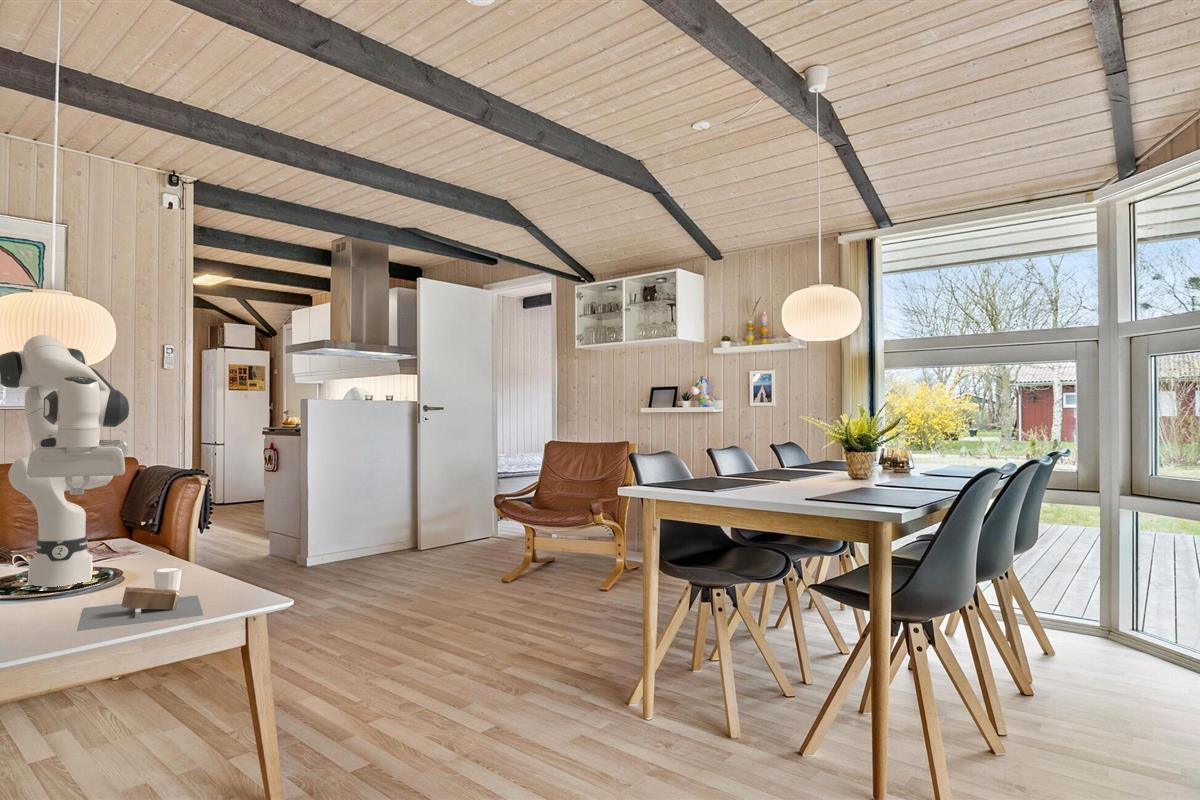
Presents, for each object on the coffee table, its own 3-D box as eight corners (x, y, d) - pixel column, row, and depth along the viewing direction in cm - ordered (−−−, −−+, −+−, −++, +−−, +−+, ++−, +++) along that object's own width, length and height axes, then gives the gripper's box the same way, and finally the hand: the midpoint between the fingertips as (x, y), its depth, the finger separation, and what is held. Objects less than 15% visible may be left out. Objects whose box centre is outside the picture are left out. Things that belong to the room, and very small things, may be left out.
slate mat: (83, 610, 185) (83, 602, 185) (197, 597, 199) (197, 589, 199) (77, 633, 167) (77, 624, 167) (203, 617, 181) (203, 609, 181)
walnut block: (126, 586, 183) (178, 590, 189) (122, 602, 183) (175, 605, 189) (125, 591, 179) (179, 594, 185) (121, 607, 178) (175, 609, 185)
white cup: (168, 598, 198) (168, 573, 198) (147, 596, 199) (147, 571, 200) (186, 592, 205) (187, 567, 205) (166, 590, 206) (167, 566, 206)
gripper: (127, 439, 190) (126, 491, 189) (30, 439, 178) (28, 494, 178) (127, 440, 184) (125, 493, 184) (26, 441, 173) (25, 497, 173)
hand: (77, 494), depth 181 cm, fingers closed
